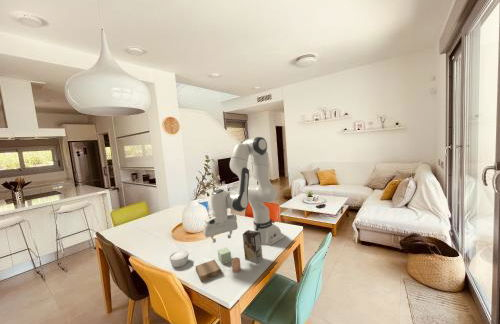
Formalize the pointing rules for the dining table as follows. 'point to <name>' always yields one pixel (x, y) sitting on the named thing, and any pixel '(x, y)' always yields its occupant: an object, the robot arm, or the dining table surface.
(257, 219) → the robot arm
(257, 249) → the coffee box
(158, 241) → the dining table surface
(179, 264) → the ramekin
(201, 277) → the walnut base
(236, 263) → the reddish pink cylinder
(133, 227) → the dining table surface
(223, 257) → the green cube
